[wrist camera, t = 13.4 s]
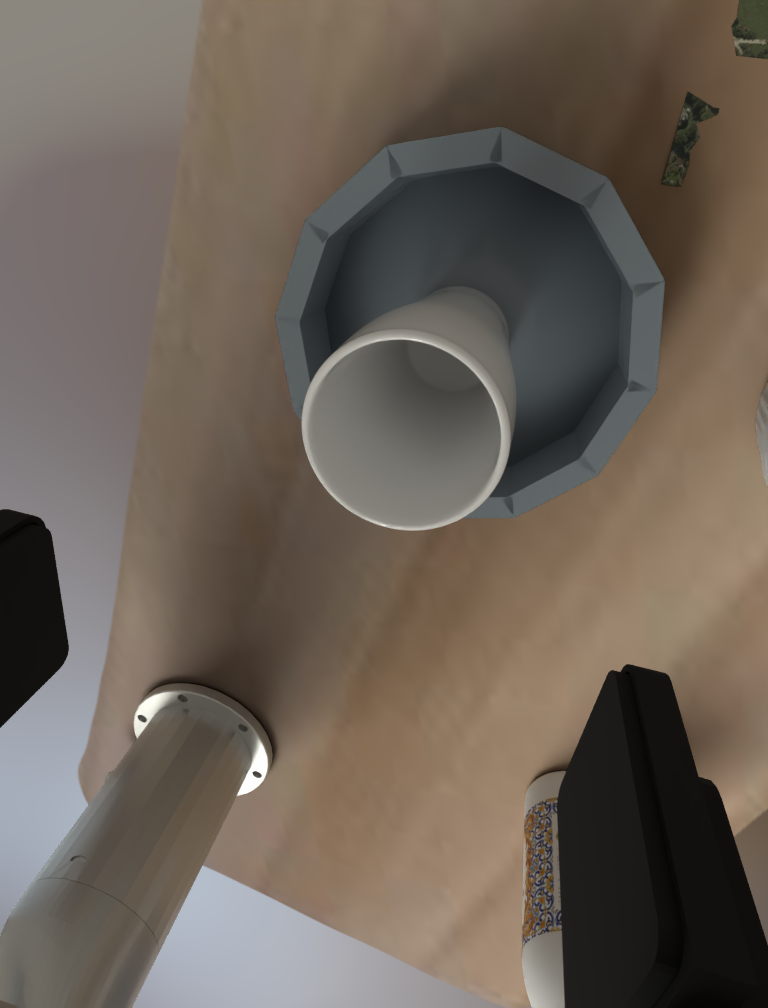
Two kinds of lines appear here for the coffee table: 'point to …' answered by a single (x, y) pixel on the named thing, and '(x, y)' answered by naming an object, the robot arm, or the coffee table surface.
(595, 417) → the bowl
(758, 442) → the ramekin
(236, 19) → the coffee table surface
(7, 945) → the robot arm
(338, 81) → the coffee table surface
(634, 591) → the coffee table surface
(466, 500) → the drinking glass
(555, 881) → the bath foam
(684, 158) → the eiffel tower figurine
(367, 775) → the coffee table surface
